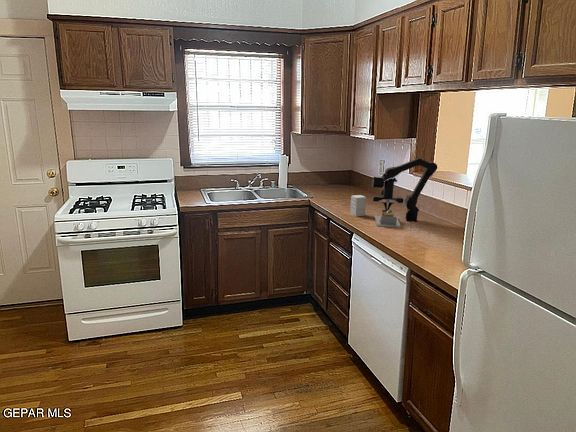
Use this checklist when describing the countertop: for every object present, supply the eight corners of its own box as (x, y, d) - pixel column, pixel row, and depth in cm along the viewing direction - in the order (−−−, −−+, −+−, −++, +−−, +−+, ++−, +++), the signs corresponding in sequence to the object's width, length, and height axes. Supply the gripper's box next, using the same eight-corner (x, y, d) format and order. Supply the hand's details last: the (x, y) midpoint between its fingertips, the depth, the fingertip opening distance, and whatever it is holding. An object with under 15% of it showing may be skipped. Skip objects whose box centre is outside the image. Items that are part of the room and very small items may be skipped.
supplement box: (359, 213, 296) (360, 194, 293) (365, 215, 289) (366, 197, 286) (349, 213, 293) (351, 195, 290) (355, 216, 287) (356, 197, 283)
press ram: (392, 217, 280) (392, 210, 278) (393, 220, 272) (393, 213, 271) (380, 216, 281) (381, 209, 279) (381, 219, 273) (382, 212, 272)
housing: (392, 223, 267) (393, 212, 265) (383, 222, 267) (384, 211, 266) (391, 221, 271) (392, 210, 270) (383, 220, 272) (384, 209, 270)
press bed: (396, 218, 285) (397, 209, 283) (400, 227, 263) (401, 217, 262) (374, 217, 286) (375, 208, 285) (376, 226, 265) (377, 216, 263)
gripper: (402, 186, 283) (400, 210, 287) (373, 185, 286) (371, 208, 290) (404, 190, 273) (402, 214, 276) (373, 188, 275) (371, 212, 279)
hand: (386, 212), depth 281 cm, fingers closed
